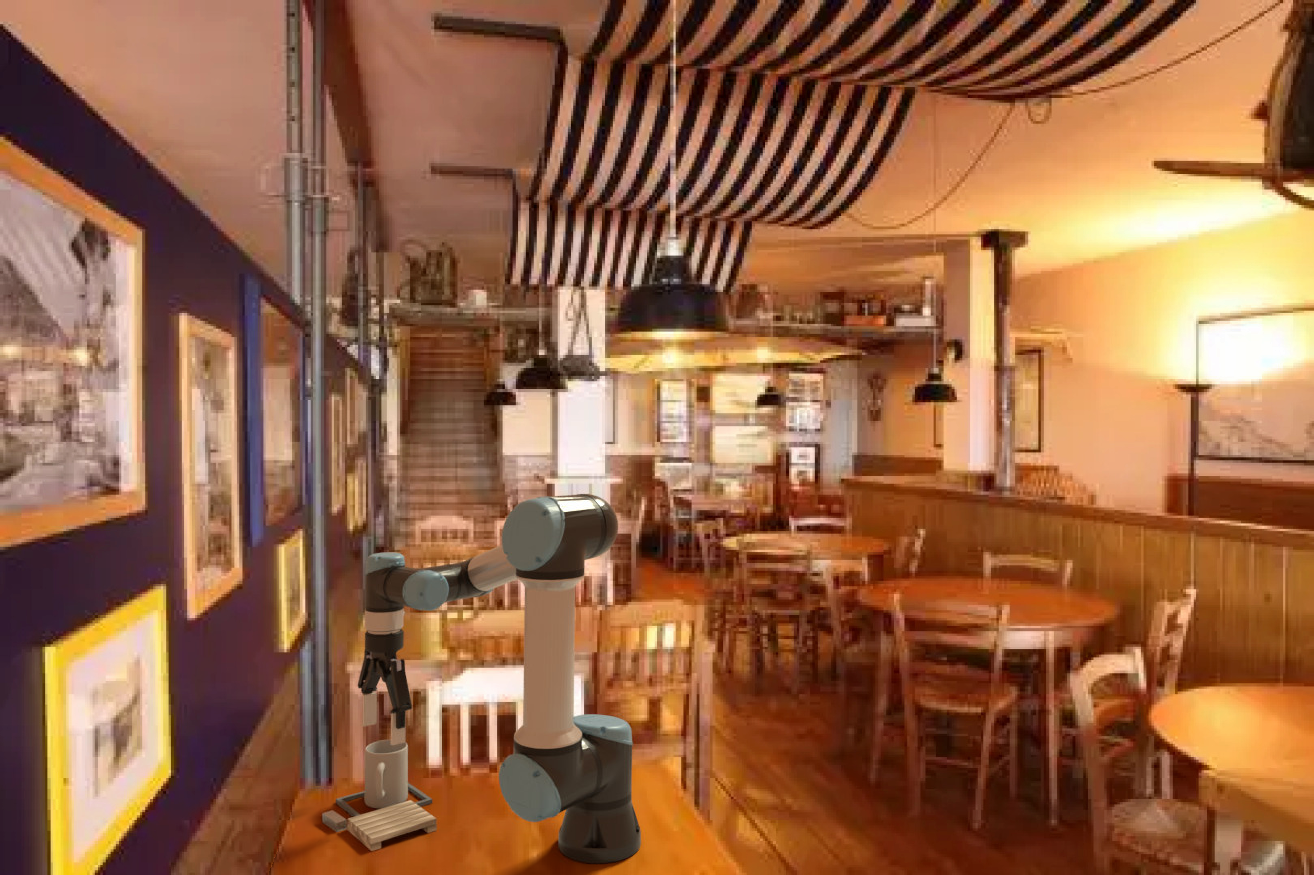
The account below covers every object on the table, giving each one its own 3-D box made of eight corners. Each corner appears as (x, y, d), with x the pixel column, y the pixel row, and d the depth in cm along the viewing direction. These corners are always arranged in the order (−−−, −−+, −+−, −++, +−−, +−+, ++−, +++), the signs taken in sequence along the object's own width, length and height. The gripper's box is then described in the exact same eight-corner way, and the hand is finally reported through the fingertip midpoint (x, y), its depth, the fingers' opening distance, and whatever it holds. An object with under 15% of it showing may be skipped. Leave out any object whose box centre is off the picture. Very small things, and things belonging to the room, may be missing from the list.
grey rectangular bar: (346, 830, 168) (346, 819, 168) (336, 833, 167) (336, 823, 167) (332, 820, 172) (332, 810, 172) (322, 823, 171) (322, 813, 171)
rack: (436, 830, 168) (436, 818, 168) (371, 851, 159) (371, 838, 159) (410, 810, 176) (410, 799, 176) (347, 829, 168) (347, 818, 168)
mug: (369, 792, 185) (369, 739, 185) (411, 790, 186) (411, 738, 186) (355, 817, 173) (356, 761, 173) (400, 815, 174) (400, 760, 174)
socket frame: (432, 803, 180) (432, 799, 180) (361, 824, 170) (361, 820, 170) (404, 783, 190) (404, 780, 190) (335, 802, 180) (335, 798, 180)
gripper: (430, 639, 173) (428, 747, 173) (376, 616, 191) (375, 713, 192) (393, 645, 168) (392, 756, 168) (342, 621, 186) (341, 721, 187)
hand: (383, 734), depth 180 cm, fingers open, 13 cm apart
